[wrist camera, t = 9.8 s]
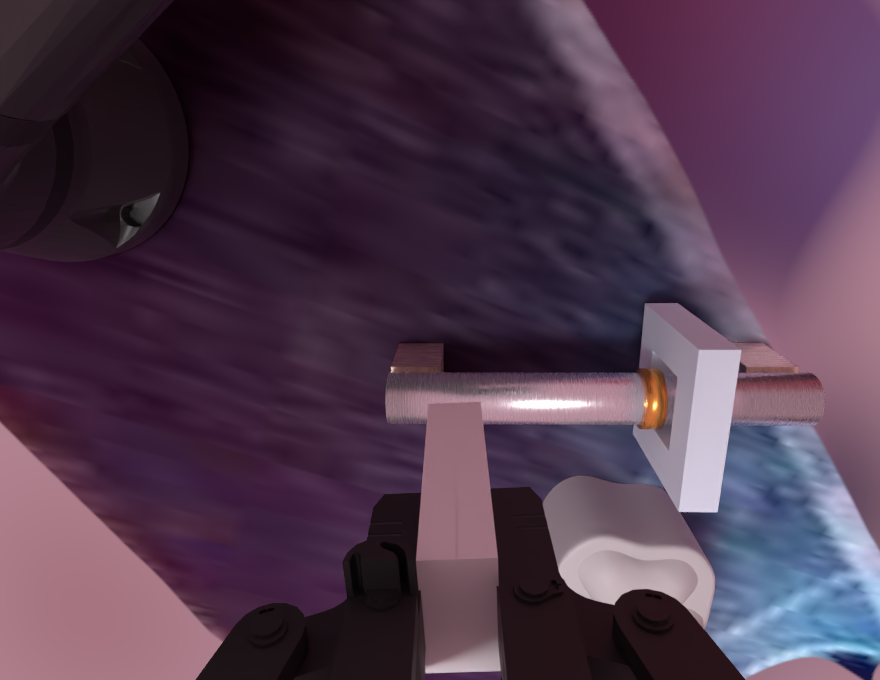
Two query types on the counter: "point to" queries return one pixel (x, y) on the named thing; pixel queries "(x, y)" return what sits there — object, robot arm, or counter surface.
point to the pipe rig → (596, 392)
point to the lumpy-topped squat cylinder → (626, 543)
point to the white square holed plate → (690, 404)
